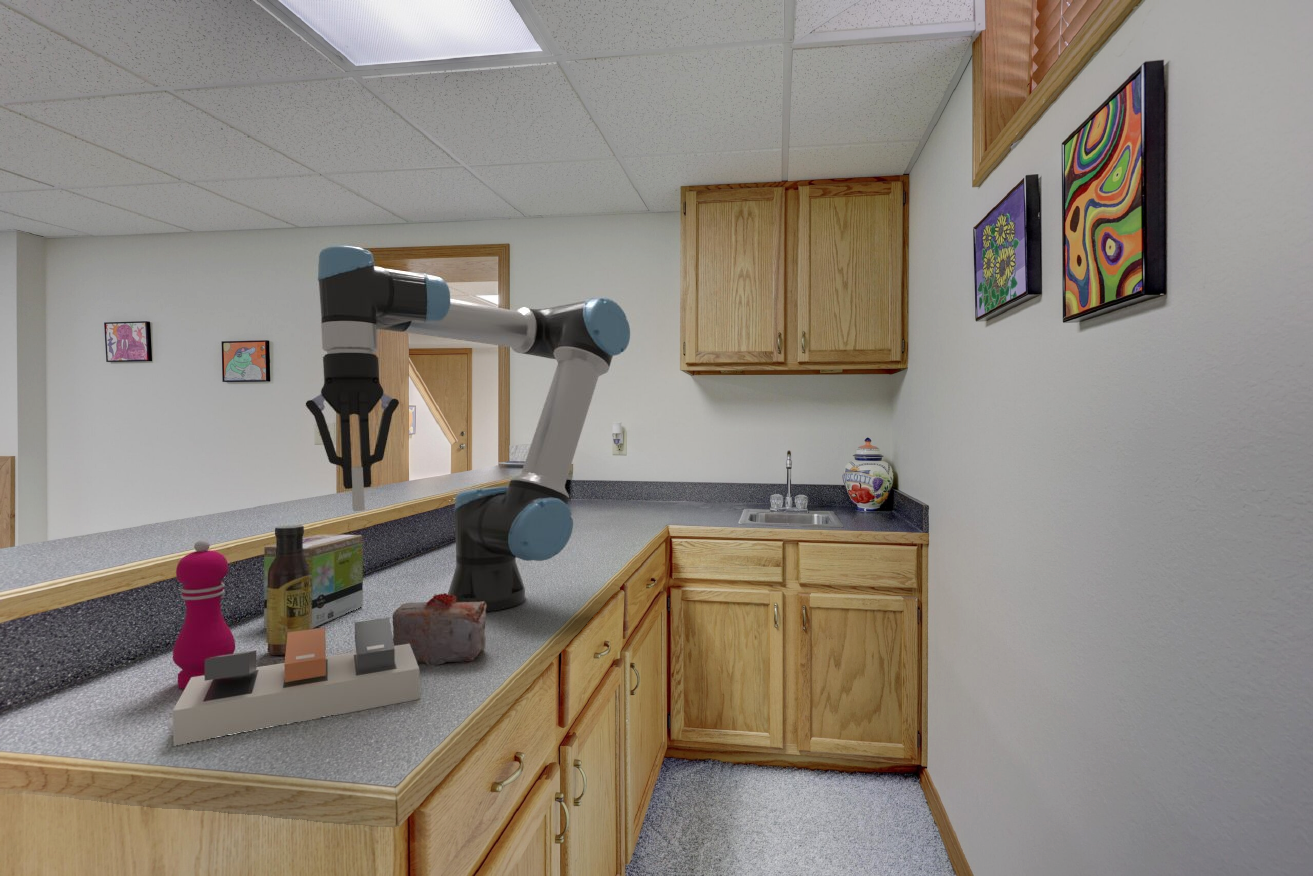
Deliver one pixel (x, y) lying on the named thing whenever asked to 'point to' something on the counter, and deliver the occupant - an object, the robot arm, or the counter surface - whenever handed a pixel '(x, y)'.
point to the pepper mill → (201, 612)
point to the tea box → (328, 574)
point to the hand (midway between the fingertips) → (358, 509)
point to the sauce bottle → (288, 589)
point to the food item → (441, 629)
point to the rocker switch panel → (290, 696)
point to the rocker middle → (305, 654)
